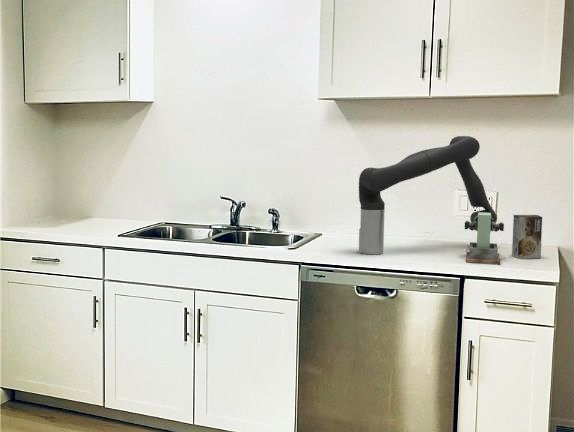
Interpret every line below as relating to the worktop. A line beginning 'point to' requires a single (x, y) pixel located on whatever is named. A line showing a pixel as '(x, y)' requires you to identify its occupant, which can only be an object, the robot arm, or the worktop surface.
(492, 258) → the gray frame wooden base
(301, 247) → the worktop surface
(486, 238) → the block
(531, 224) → the coffee box
